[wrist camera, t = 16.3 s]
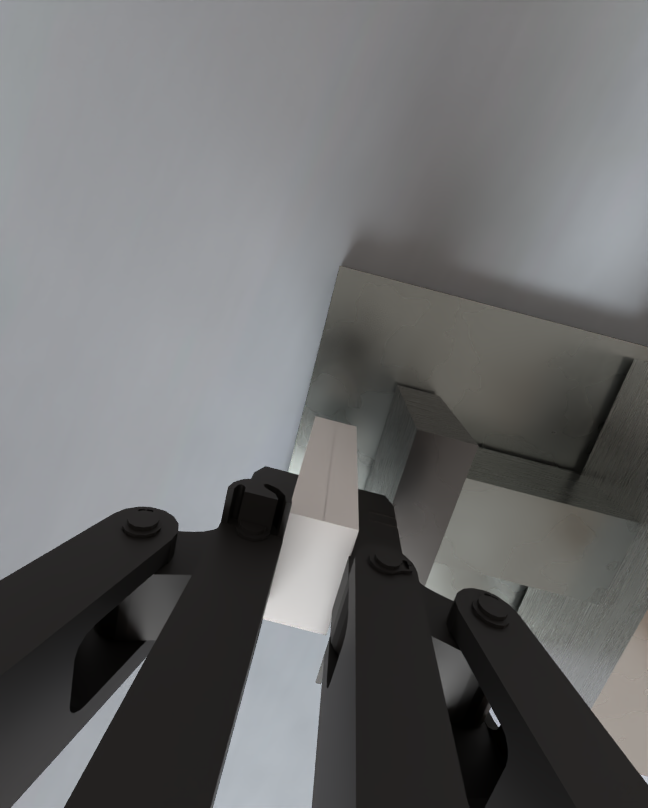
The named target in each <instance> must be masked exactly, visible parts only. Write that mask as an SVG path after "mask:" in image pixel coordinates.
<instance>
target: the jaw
mask: <svg viewBox="0 0 648 808" xmlns="http://www.w3.org/2000/svg"><path fill="white" fill-rule="evenodd" d="M478 446H479V445H478V444H477V443H476V442H475V440H474V439H473V438H472V437H471V435H470V434H469V433H468V431H467V430H466V429H465V428H464V426H463V425H462V424H461V423H460V421H459V420H458V419H457V417H456V416H455V415H454V414H453V412H452V411H451V410H450V409H449V407H448V406H447V405H446V404H445V402H444V401H443V400H442V398H441V397H440V396H438V395H434V394H430V393H426V392H422V391H419V390H415V389H411V388H407V387H403V386H400V385H397V387H396V390H395V394H394V397H393V400H392V403H391V406H390V410H389V413H388V416H387V419H386V423H385V426H384V429H383V432H382V435H381V439H380V442H379V445H378V448H377V452H376V455H375V458H374V461H373V464H372V468H371V471H370V474H369V477H368V481H367V484H366V487H365V491H369V492H373V493H377V494H381V495H385V496H386V497H387V499H388V500H389V501H390V502H391V504H392V505H393V506H394V510H395V516H396V518H395V519H396V521H397V528H398V532H399V538H400V543H401V549H402V554H403V555H405V556H406V557H407V558H408V559H409V560H410V561H411V562H412V563H413V564H414V566H415V568H416V570H417V573H418V577H419V582H420V583H421V584H422V585H424V586H425V585H426V582H427V580H428V577H429V574H430V572H431V569H432V566H433V564H434V562H436V563H440V564H443V565H447V566H451V567H455V568H459V569H463V570H467V571H470V572H474V573H478V574H482V575H486V576H490V577H494V578H498V579H501V580H505V581H509V582H513V583H517V584H521V585H525V586H529V588H528V590H527V592H526V594H525V596H524V598H523V601H522V603H521V605H520V607H519V609H518V611H517V613H518V614H519V615H520V617H521V618H522V619H523V620H524V622H525V623H526V624H527V626H528V627H529V628H530V630H531V631H532V632H533V634H534V635H535V636H536V638H537V639H538V640H539V642H540V643H541V644H542V646H543V647H544V648H545V650H546V651H547V652H548V654H549V655H550V656H551V658H552V659H553V660H554V661H555V663H556V664H557V665H558V667H559V668H560V669H561V671H562V672H563V673H564V675H565V676H566V677H567V679H568V680H569V681H570V683H571V684H572V685H573V687H574V688H575V689H576V691H577V692H578V693H579V695H580V696H581V697H582V698H583V700H584V701H585V702H586V704H587V705H588V706H589V708H590V709H591V710H592V712H593V713H594V714H595V716H596V717H597V718H598V720H599V721H600V722H601V724H602V725H603V726H604V728H605V729H606V730H607V732H608V733H609V734H610V736H611V737H612V738H613V739H614V741H615V742H616V743H617V745H618V746H619V747H620V749H621V750H622V751H623V753H624V754H625V755H626V757H627V758H628V759H629V761H630V762H631V763H632V765H633V766H634V767H635V769H636V770H637V771H638V773H639V774H641V775H645V776H648V362H645V361H641V360H637V359H634V361H633V363H632V365H631V367H630V370H629V372H628V374H627V376H626V378H625V380H624V382H623V385H622V387H621V389H620V391H619V393H618V395H617V398H616V400H615V402H614V404H613V406H612V408H611V411H610V413H609V415H608V417H607V419H606V421H605V424H604V426H603V428H602V430H601V432H600V434H599V436H598V439H597V441H596V443H595V445H594V447H593V449H592V452H591V454H590V456H589V458H588V460H587V462H586V465H585V467H584V469H583V471H582V473H581V474H580V473H576V472H572V471H569V470H565V469H561V468H557V467H553V466H549V465H546V464H542V463H538V462H534V461H530V460H526V459H523V458H519V457H515V456H511V455H507V454H503V453H500V452H496V451H492V450H488V449H484V448H480V447H478Z"/></svg>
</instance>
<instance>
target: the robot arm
mask: <svg viewBox="0 0 648 808" xmlns="http://www.w3.org/2000/svg"><path fill="white" fill-rule="evenodd" d="M395 518H396V516H395V510H394V506H393V505H392V504H391V502H390V501H389V500H388V499H387V497H386V496H385V495H381V494H377V493H373V492H369V491H365V490H361V489H358V470H357V427H356V426H352V425H348V424H344V423H340V422H336V421H332V420H328V419H325V418H321V417H317V416H315V420H314V423H313V427H312V430H311V434H310V437H309V441H308V444H307V448H306V451H305V455H304V458H303V462H302V465H301V469H300V472H299V475H297V474H293V473H290V472H286V471H282V470H278V469H274V468H270V467H266V466H265V467H264V468H262V469H260V470H258V471H256V472H254V474H253V476H252V478H251V479H243V480H239V481H236V482H233V483H232V484H231V485H230V486H229V487H228V490H227V495H226V500H225V505H224V510H223V515H222V520H221V523H220V525H219V527H218V528H217V529H214V530H210V531H205V532H183V531H178V522H177V521H176V519H175V518H174V516H172V515H170V514H169V513H167V512H166V511H163V510H160V509H156V508H152V507H134V508H128V509H124V510H121V511H119V512H116V513H114V514H112V515H111V516H109V517H107V518H105V519H104V520H102V521H100V522H99V523H97V524H95V525H94V526H92V527H90V528H89V529H87V530H85V531H83V532H82V533H80V534H78V535H77V536H75V537H73V538H72V539H70V540H68V541H66V542H65V543H63V544H61V545H60V546H58V547H56V548H55V549H53V550H51V551H49V552H48V553H46V554H44V555H43V556H41V557H39V558H38V559H36V560H34V561H32V562H31V563H29V564H27V565H26V566H24V567H22V568H21V569H19V570H17V571H16V572H14V573H12V574H10V575H9V576H7V577H5V578H4V579H2V580H0V808H11V807H12V806H13V804H14V803H15V802H16V801H17V800H18V799H19V798H20V797H21V796H22V794H23V793H24V792H25V791H26V790H27V789H28V788H29V787H30V786H31V785H32V783H33V782H34V781H35V780H36V779H37V778H38V777H39V776H40V775H41V773H42V772H43V771H44V770H45V769H46V768H47V767H48V766H49V765H50V763H51V762H52V761H53V760H54V759H55V758H56V757H57V756H58V755H59V753H60V752H61V751H62V750H63V749H64V748H65V747H66V746H67V745H68V743H69V742H70V741H71V740H72V739H73V738H74V737H75V736H76V735H77V733H78V732H79V731H80V730H81V729H82V728H83V727H84V726H85V725H86V723H87V722H88V721H89V720H90V719H91V718H92V717H93V716H94V715H95V713H96V712H97V711H98V710H99V709H100V708H101V707H102V706H103V705H104V703H105V702H106V701H107V700H108V699H109V698H110V697H111V696H112V695H113V693H114V692H115V691H116V690H117V689H118V688H119V687H120V686H121V685H122V683H123V682H124V681H125V680H126V679H127V678H128V677H129V676H130V675H131V673H132V672H133V671H134V670H135V669H136V668H137V667H138V666H139V665H140V663H141V662H142V661H143V660H144V659H145V658H146V657H147V658H146V660H145V661H144V663H143V665H142V667H141V669H140V670H139V672H138V674H137V676H136V678H135V680H134V681H133V683H132V685H131V687H130V689H129V690H128V692H127V694H126V696H125V698H124V700H123V701H122V703H121V705H120V707H119V709H118V710H117V712H116V714H115V716H114V718H113V720H112V721H111V723H110V725H109V727H108V729H107V730H106V732H105V734H104V736H103V738H102V740H101V741H100V743H99V745H98V747H97V749H96V750H95V752H94V754H93V756H92V758H91V759H90V761H89V763H88V765H87V767H86V769H85V770H84V772H83V774H82V776H81V778H80V779H79V781H78V783H77V785H76V787H75V789H74V790H73V792H72V794H71V796H70V798H69V799H68V801H67V803H66V805H65V807H64V808H213V805H214V801H215V798H216V794H217V790H218V786H219V783H220V779H221V775H222V771H223V768H224V764H225V760H226V756H227V752H228V749H229V745H230V741H231V737H232V734H233V730H234V726H235V722H236V719H237V715H238V711H239V707H240V704H241V700H242V696H243V692H244V689H245V685H246V681H247V677H248V674H249V670H250V666H251V662H252V659H253V655H254V651H255V647H256V644H257V640H258V636H259V632H260V628H261V624H262V620H263V619H264V620H268V621H272V622H276V623H280V624H284V625H288V626H292V627H296V628H300V629H303V630H307V631H311V632H315V633H319V634H323V635H327V632H328V628H329V625H330V622H331V633H330V638H329V641H328V645H327V648H326V651H325V654H324V657H323V661H322V664H321V667H320V670H319V673H318V677H317V680H316V683H318V684H321V682H322V689H321V701H320V714H319V726H318V738H317V751H316V763H315V775H314V788H313V800H312V808H648V784H647V783H646V782H645V780H644V779H643V778H642V776H641V775H640V774H639V773H638V771H637V770H636V769H635V767H634V766H633V765H632V763H631V762H630V761H629V759H628V758H627V757H626V755H625V754H624V753H623V751H622V750H621V749H620V747H619V746H618V745H617V743H616V742H615V741H614V739H613V738H612V737H611V736H610V734H609V733H608V732H607V730H606V729H605V728H604V726H603V725H602V724H601V722H600V721H599V720H598V718H597V717H596V716H595V714H594V713H593V712H592V710H591V709H590V708H589V706H588V705H587V704H586V702H585V701H584V700H583V698H582V697H581V696H580V695H579V693H578V692H577V691H576V689H575V688H574V687H573V685H572V684H571V683H570V681H569V680H568V679H567V677H566V676H565V675H564V673H563V672H562V671H561V669H560V668H559V667H558V665H557V664H556V663H555V661H554V660H553V659H552V658H551V656H550V655H549V654H548V652H547V651H546V650H545V648H544V647H543V646H542V644H541V643H540V642H539V640H538V639H537V638H536V636H535V635H534V634H533V632H532V631H531V630H530V628H529V627H528V626H527V624H526V623H525V622H524V620H523V619H522V618H521V617H520V615H519V614H518V613H517V612H516V611H515V610H514V609H513V608H512V607H511V606H510V605H509V604H508V603H506V602H505V601H503V600H502V599H500V598H499V597H498V596H496V595H494V594H491V593H490V592H487V591H484V590H480V589H476V588H465V589H462V590H460V591H459V592H458V593H457V594H456V596H455V599H454V601H453V600H450V599H448V598H446V597H444V596H442V595H440V594H438V593H436V592H434V591H432V590H430V589H429V588H427V587H425V586H424V585H422V584H421V583H420V582H419V577H418V573H417V570H416V568H415V566H414V564H413V563H412V562H411V561H410V560H409V559H408V558H407V557H406V556H405V555H403V554H402V549H401V543H400V538H399V532H398V528H397V521H396V519H395ZM490 708H492V709H493V711H494V713H495V715H496V717H497V719H498V720H499V722H500V724H501V725H500V727H498V726H497V725H496V723H495V722H494V720H493V718H492V716H491V715H490V713H489V710H490Z"/></svg>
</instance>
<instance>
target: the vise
mask: <svg viewBox="0 0 648 808" xmlns="http://www.w3.org/2000/svg"><path fill="white" fill-rule="evenodd" d="M634 359H637V360H641V361H645V362H648V347H646V346H642V345H638V344H635V343H631V342H627V341H623V340H620V339H616V338H612V337H608V336H604V335H601V334H597V333H593V332H589V331H585V330H582V329H578V328H574V327H570V326H566V325H563V324H559V323H555V322H551V321H548V320H544V319H540V318H536V317H532V316H529V315H525V314H521V313H517V312H513V311H510V310H506V309H502V308H498V307H494V306H491V305H487V304H483V303H479V302H476V301H472V300H468V299H464V298H460V297H457V296H453V295H449V294H445V293H441V292H438V291H434V290H430V289H426V288H422V287H419V286H415V285H411V284H407V283H404V282H400V281H396V280H392V279H388V278H385V277H381V276H377V275H373V274H369V273H366V272H362V271H358V270H354V269H350V268H347V267H343V266H340V267H339V271H338V275H337V279H336V283H335V287H334V291H333V295H332V299H331V303H330V307H329V311H328V315H327V319H326V323H325V327H324V331H323V335H322V339H321V343H320V347H319V351H318V355H317V359H316V363H315V367H314V371H313V375H312V379H311V383H310V387H309V391H308V395H307V399H306V403H305V407H304V410H303V414H302V418H301V422H300V426H299V430H298V434H297V438H296V442H295V446H294V450H293V454H292V458H291V462H290V466H289V470H288V472H290V473H293V474H297V475H299V472H300V469H301V465H302V462H303V458H304V455H305V451H306V448H307V444H308V441H309V437H310V434H311V430H312V427H313V423H314V420H315V416H317V417H321V418H325V419H328V420H332V421H336V422H340V423H344V424H348V425H352V426H356V427H357V470H358V489H361V490H365V487H366V484H367V481H368V477H369V474H370V471H371V468H372V464H373V461H374V458H375V455H376V452H377V448H378V445H379V442H380V439H381V435H382V432H383V429H384V426H385V423H386V419H387V416H388V413H389V410H390V406H391V403H392V400H393V397H394V394H395V390H396V387H397V385H400V386H403V387H407V388H411V389H415V390H419V391H422V392H426V393H430V394H434V395H438V396H440V397H441V398H442V400H443V401H444V402H445V404H446V405H447V406H448V407H449V409H450V410H451V411H452V412H453V414H454V415H455V416H456V417H457V419H458V420H459V421H460V423H461V424H462V425H463V426H464V428H465V429H466V430H467V431H468V433H469V434H470V435H471V437H472V438H473V439H474V440H475V442H476V443H477V444H478V445H479V446H478V447H480V448H484V449H488V450H492V451H496V452H500V453H503V454H507V455H511V456H515V457H519V458H523V459H526V460H530V461H534V462H538V463H542V464H546V465H549V466H553V467H557V468H561V469H565V470H569V471H572V472H576V473H580V474H581V473H582V471H583V469H584V467H585V465H586V462H587V460H588V458H589V456H590V454H591V452H592V449H593V447H594V445H595V443H596V441H597V439H598V436H599V434H600V432H601V430H602V428H603V426H604V424H605V421H606V419H607V417H608V415H609V413H610V411H611V408H612V406H613V404H614V402H615V400H616V398H617V395H618V393H619V391H620V389H621V387H622V385H623V382H624V380H625V378H626V376H627V374H628V372H629V370H630V367H631V365H632V363H633V361H634ZM425 587H427V588H429V589H430V590H432V591H434V592H436V593H438V594H440V595H442V596H444V597H446V598H448V599H450V600H453V601H454V599H455V596H456V594H457V593H458V592H459V591H460V590H462V589H465V588H476V589H480V590H484V591H487V592H490V593H491V594H494V595H496V596H498V597H499V598H500V599H502V600H503V601H505V602H506V603H508V604H509V605H510V606H511V607H512V608H513V609H514V610H515V611H516V612H517V611H518V609H519V607H520V605H521V603H522V601H523V598H524V596H525V594H526V592H527V590H528V588H529V586H525V585H521V584H517V583H513V582H509V581H505V580H501V579H498V578H494V577H490V576H486V575H482V574H478V573H474V572H470V571H467V570H463V569H459V568H455V567H451V566H447V565H443V564H440V563H436V562H434V564H433V566H432V569H431V572H430V574H429V577H428V580H427V582H426V585H425Z"/></svg>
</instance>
